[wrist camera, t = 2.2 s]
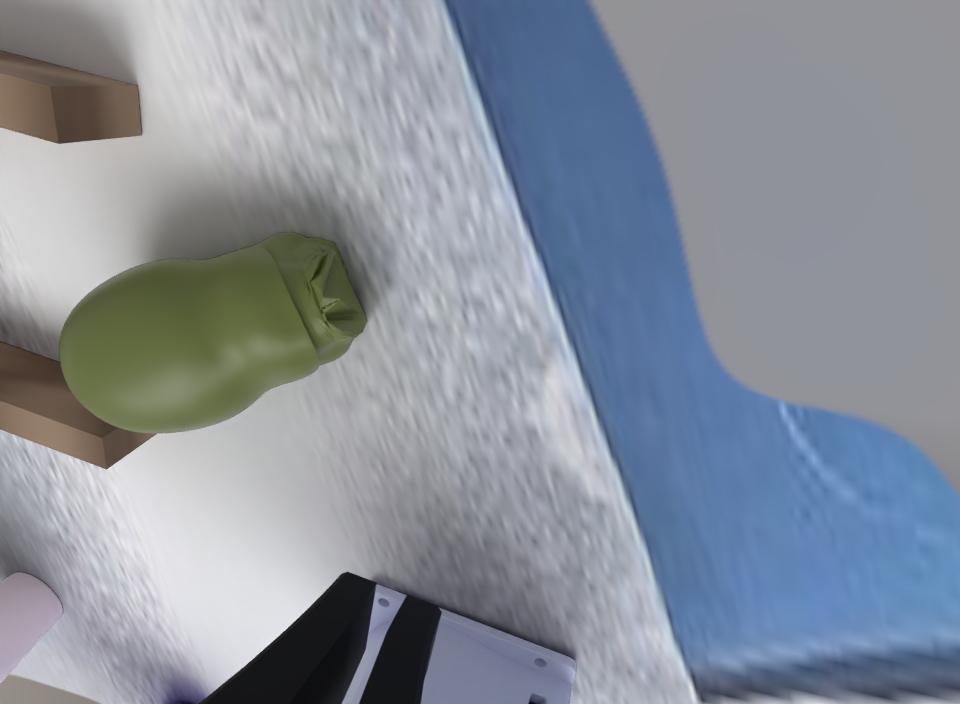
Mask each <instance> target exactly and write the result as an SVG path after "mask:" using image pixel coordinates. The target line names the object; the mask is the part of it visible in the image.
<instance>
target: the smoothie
mask: <svg viewBox="0 0 960 704" xmlns="http://www.w3.org/2000/svg"><path fill="white" fill-rule="evenodd" d="M62 613H63V609H62V605H61V602H60V600H59V599H58V597H57V596H56V594H55V593H54V592H53V591H52V590H51V589H50V588H49V587H48V586H47V585H46V584H45V583H43V582H42V581H40V580H39V579H37V578H36V577H34V576H32V575H29V574H26V573H21V572H17V573H13V574H12V575H10V576H9V577H7V578H5V579H4V580H2V581H1V582H0V683H1V682H2V681H3V680H4V679H5V678H6V677H7V676H8V674H9V673H10V672H11V671H12V670H13V669H14V668H15V667H16V666H17V664H18V663H19V662H20V661H21V660H22V659H23V658H24V657H25V656H26V655H27V653H28V652H29V651H30V650H31V649H32V648H33V647H34V646H35V645H36V643H37V642H38V641H39V640H40V639H41V638H42V637H43V636H44V635H45V633H46V632H47V631H48V630H49V629H50V628H51V627H52V626H53V625H54V623H55V622H56V621H57V620H58V619H59V618H60V617H61V616H62Z"/></svg>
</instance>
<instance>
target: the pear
mask: <svg viewBox="0 0 960 704" xmlns="http://www.w3.org/2000/svg"><path fill="white" fill-rule="evenodd" d="M366 323H367V319H366V317H365V314H364V312H363V310H362V308H361V306H360V303H359V301H358V299H357V296H356V294H355V292H354V290H353V288H352V286H351V283H350V281H349V278H348V275H347V271H346V269H345V268H344V265H343V261H342V260H341V258H340V256H339V252H338V250H337V248H336V244H335V242H331V241H327V240H323V239H319V238H306V237H304V236H302V235H300V234H297V233H294V232H283V233H278V234H275V235H273V236H271V237H269V238H267V239H265V240H263V241H262V242H260V243H258V244H256V245H253V246H251V247H247V248H243V249H239V250H236V251H233V252H230V253H227V254H224V255H221V256H218V257H215V258H211V259H206V260H198V259H186V258H175V259H164V260H158V261H153V262H149V263H146V264H142V265H139V266H136V267H133V268H131V269H128V270H126V271H124V272H122V273H119V274H117V275H116V276H114V277H112V278H110V279H108V280H107V281H105V282H104V283H102V284H100V285H99V286H98V287H96V288H95V289H93V290H92V291H91V292H90V293H89V294H87V295H86V296H85V297H84V298H83V299H82V300H81V301H80V302H79V303H78V304H77V305H76V307H75V308H74V309H73V310H72V312H71V313H70V315H69V317H68V318H67V320H66V322H65V324H64V327H63V329H62V333H61V336H60V343H59V357H60V364H61V368H62V372H63V375H64V378H65V380H66V382H67V384H68V386H69V388H70V390H71V391H72V393H73V394H74V396H75V397H76V398H77V399H78V401H79V402H80V403H81V404H82V405H83V406H84V407H85V408H86V409H87V410H89V411H90V412H91V413H92V414H94V415H95V416H96V417H98V418H100V419H101V420H103V421H105V422H107V423H109V424H111V425H113V426H115V427H118V428H121V429H125V430H129V431H134V432H140V433H174V432H183V431H189V430H195V429H199V428H203V427H207V426H211V425H214V424H217V423H220V422H222V421H225V420H227V419H229V418H231V417H233V416H235V415H237V414H239V413H240V412H242V411H243V410H245V409H246V408H248V407H249V406H250V405H251V404H253V403H254V402H255V401H256V400H257V399H258V398H259V397H260V396H261V395H262V394H264V393H265V392H266V391H268V390H270V389H272V388H274V387H277V386H279V385H282V384H286V383H289V382H293V381H296V380H299V379H302V378H304V377H306V376H308V375H310V374H312V373H313V372H315V371H316V370H317V369H318V367H319V365H322V364H326V363H329V362H332V361H334V360H336V359H338V358H339V357H341V356H342V355H343V354H344V353H345V352H346V351H347V350H348V349H349V347H350V345H351V342H352V339H353V338H355V337H356V336H358V335H359V334H360V333H362V332H363V330H364V328H365V325H366Z"/></svg>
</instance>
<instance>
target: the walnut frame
mask: <svg viewBox="0 0 960 704" xmlns="http://www.w3.org/2000/svg"><path fill="white" fill-rule="evenodd" d="M0 127H1V128H5V129H8V130H12V131H15V132H19V133H23V134H26V135H30V136H33V137H37V138H40V139H44V140H47V141H51V142H54V143H58V144H61V143H71V142H81V141H91V140H101V139H111V138H121V137H131V136H141V135H142V134H141V122H140V109H139V97H138V86H136V85H132V84H128V83H124V82H120V81H116V80H112V79H109V78H105V77H101V76H97V75H93V74H89V73H86V72H82V71H78V70H74V69H70V68H66V67H62V66H59V65H55V64H51V63H47V62H43V61H39V60H35V59H32V58H28V57H24V56H20V55H16V54H12V53H8V52H5V51H1V50H0ZM0 429H1V430H4V431H6V432H9V433H12V434H14V435H17V436H19V437H22V438H25V439H27V440H30V441H33V442H35V443H38V444H41V445H43V446H46V447H49V448H51V449H54V450H57V451H59V452H62V453H65V454H67V455H70V456H73V457H75V458H78V459H81V460H83V461H86V462H89V463H91V464H94V465H97V466H99V467H102V468H105V469H108V468H109V467H111V466H112V465H114V464H115V463H116V462H118V461H119V460H121V459H122V458H123V457H125V456H126V455H128V454H129V453H130V452H132V451H133V450H135V449H136V448H137V447H139V446H140V445H142V444H143V443H144V442H146V441H147V440H149V439H150V438H152V437H153V436H154V435H156V434H157V433H140V432H134V431H129V430H125V429H121V428H118V427H115V426H113V425H111V424H109V423H107V422H105V421H103V420H101V419H100V418H98V417H96V416H95V415H94V414H92V413H91V412H90V411H89V410H87V409H86V408H85V407H84V406H83V405H82V404H81V403H80V402H79V401H78V399H77V398H76V397H75V396H74V394H73V393H72V391H71V390H70V388H69V386H68V384H67V382H66V380H65V378H64V375H63V372H62V368H61V364H60V363H59V362H56V361H54V360H51V359H48V358H45V357H42V356H39V355H36V354H33V353H31V352H28V351H25V350H22V349H19V348H16V347H13V346H11V345H8V344H5V343H2V342H0Z"/></svg>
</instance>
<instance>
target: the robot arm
mask: <svg viewBox="0 0 960 704" xmlns="http://www.w3.org/2000/svg"><path fill="white" fill-rule="evenodd" d="M576 671H577V664H576V662H575V661H574V660H573V659H572V658H570V657H568V656H565V655H563V654H560V653H557V652H555V651H552V650H550V649H547V648H544V647H542V646H539V645H536V644H534V643H531V642H528V641H526V640H523V639H521V638H518V637H515V636H513V635H510V634H507V633H505V632H502V631H500V630H497V629H494V628H492V627H489V626H486V625H484V624H481V623H478V622H476V621H473V620H471V619H468V618H465V617H463V616H460V615H457V614H455V613H452V612H449V611H447V610H444V609H442V608H439V607H438V606H436V605H434V604H431V603H428V602H426V601H423V600H420V599H418V598H415V597H413V596H410V595H405V594H402V593H399V592H397V591H394V590H391V589H389V588H386V587H384V586H381V585H378V584H377V583H376V582H373V581H370V580H368V579H365V578H362V577H360V576H357V575H355V574H352V573H349V572H346V573H343V574H341V575H340V576H339V577H338V578H337V580H336V581H335V582H334V583H333V584H332V585H331V586H330V587H329V588H328V589H327V590H326V591H325V592H324V593H323V594H322V595H321V596H320V597H319V598H318V599H317V600H316V601H315V602H314V603H313V604H312V605H311V606H310V607H309V608H308V609H307V610H306V611H305V612H304V613H303V614H302V615H301V616H300V617H299V618H298V619H297V620H296V621H295V622H294V623H293V624H292V625H291V626H290V627H288V628H287V629H286V630H285V631H284V632H283V633H282V634H281V635H280V636H279V637H277V638H276V639H275V640H274V641H273V642H272V643H271V644H270V645H268V646H267V647H266V648H265V649H264V650H263V651H262V652H261V653H259V654H258V655H257V656H256V657H255V658H254V659H253V660H252V661H250V662H249V663H248V664H247V665H246V666H245V667H243V668H242V669H241V670H240V671H239V672H237V673H236V674H235V675H234V676H232V677H231V678H230V679H229V680H228V681H226V682H225V683H224V684H223V685H221V686H220V687H219V688H218V689H216V690H215V691H214V692H213V693H212V694H210V695H209V696H208V697H207V698H205V699H204V700H203V701H202V702H200V703H199V704H569V703H570V695H571V687H572V683H573V681H574V678H575V676H576Z"/></svg>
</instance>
